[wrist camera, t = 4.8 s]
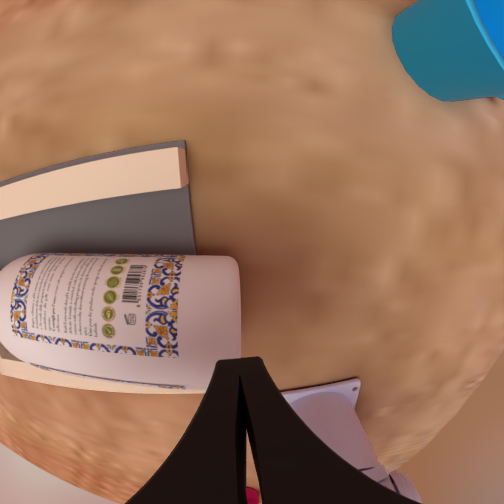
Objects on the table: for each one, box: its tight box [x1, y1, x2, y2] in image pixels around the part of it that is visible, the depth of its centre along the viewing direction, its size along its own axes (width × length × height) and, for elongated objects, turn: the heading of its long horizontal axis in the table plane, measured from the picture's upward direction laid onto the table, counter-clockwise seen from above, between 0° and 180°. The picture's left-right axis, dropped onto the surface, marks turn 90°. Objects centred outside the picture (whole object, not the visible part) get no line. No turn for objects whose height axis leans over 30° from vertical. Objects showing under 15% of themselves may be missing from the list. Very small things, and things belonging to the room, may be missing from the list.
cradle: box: [0, 140, 206, 394], centre depth 16 cm, size 16×20×3 cm
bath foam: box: [0, 253, 241, 390], centre depth 14 cm, size 7×7×20 cm
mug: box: [392, 0, 504, 102], centre depth 11 cm, size 12×8×8 cm
